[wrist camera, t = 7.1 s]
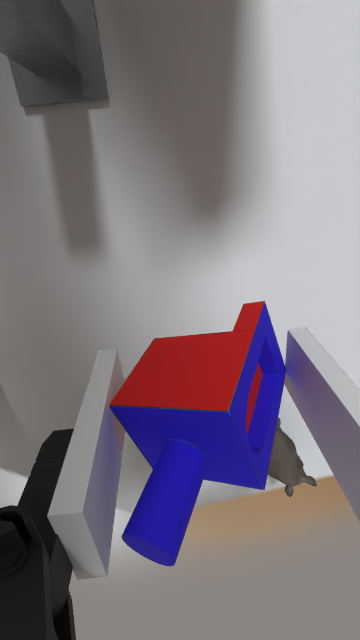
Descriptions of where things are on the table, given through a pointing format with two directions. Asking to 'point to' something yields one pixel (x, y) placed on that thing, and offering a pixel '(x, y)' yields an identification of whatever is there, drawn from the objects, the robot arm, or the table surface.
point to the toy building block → (200, 422)
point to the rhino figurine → (287, 462)
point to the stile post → (53, 50)
